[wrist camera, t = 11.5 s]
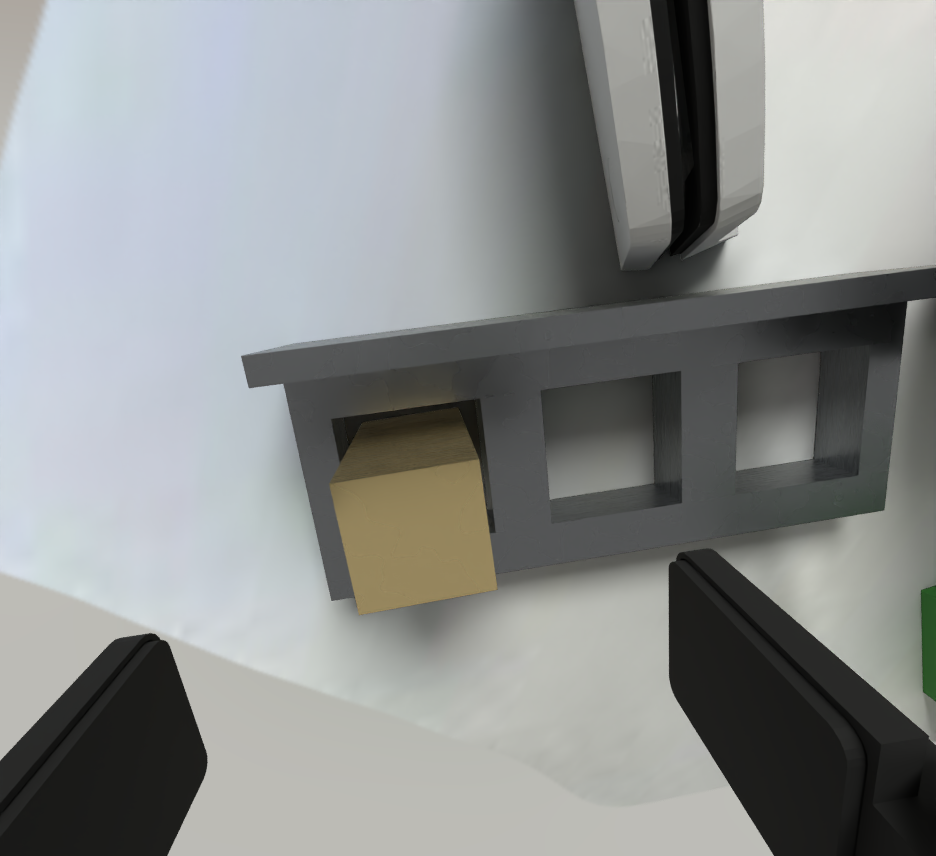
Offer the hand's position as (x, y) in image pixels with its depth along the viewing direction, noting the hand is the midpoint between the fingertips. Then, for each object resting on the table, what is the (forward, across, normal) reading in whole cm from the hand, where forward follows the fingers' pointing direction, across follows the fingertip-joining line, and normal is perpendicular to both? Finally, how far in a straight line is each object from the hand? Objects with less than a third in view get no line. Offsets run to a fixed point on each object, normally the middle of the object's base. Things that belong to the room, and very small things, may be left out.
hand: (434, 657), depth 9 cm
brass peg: (+14, +1, +1) cm, 14 cm away
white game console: (+14, -9, -15) cm, 23 cm away
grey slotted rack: (+14, -8, +1) cm, 16 cm away
